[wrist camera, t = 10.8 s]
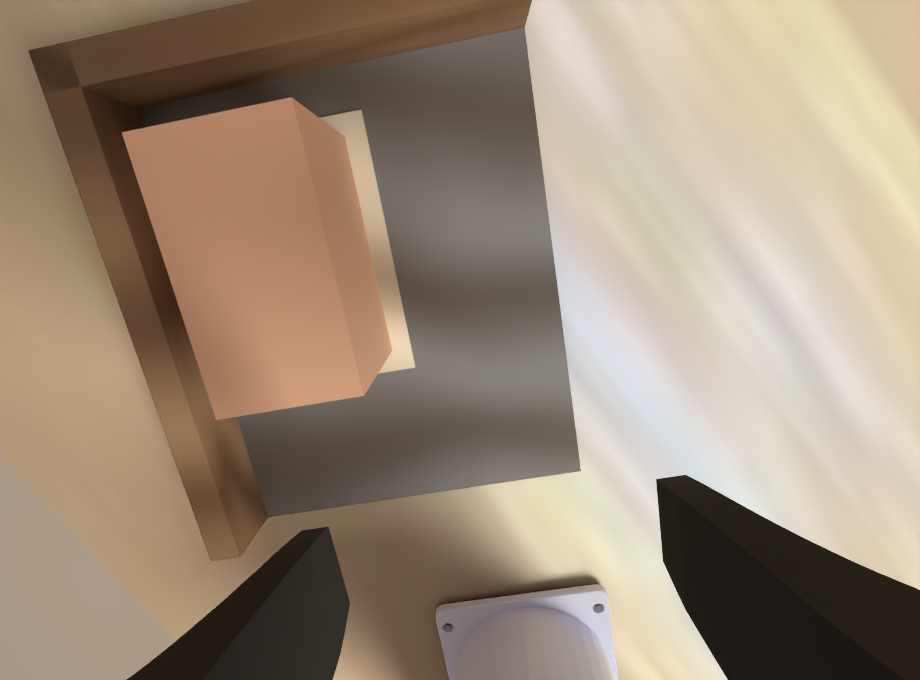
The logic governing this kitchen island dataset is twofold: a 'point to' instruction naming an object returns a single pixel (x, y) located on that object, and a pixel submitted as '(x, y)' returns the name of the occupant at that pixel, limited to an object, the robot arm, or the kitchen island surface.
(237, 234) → the block
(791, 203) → the kitchen island surface
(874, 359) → the kitchen island surface
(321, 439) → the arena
